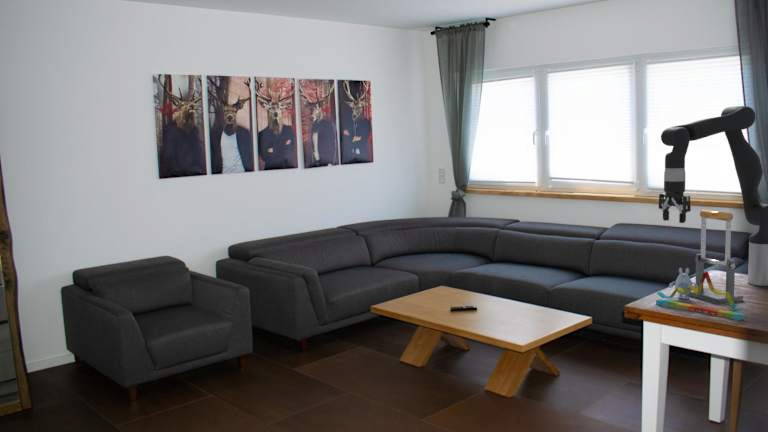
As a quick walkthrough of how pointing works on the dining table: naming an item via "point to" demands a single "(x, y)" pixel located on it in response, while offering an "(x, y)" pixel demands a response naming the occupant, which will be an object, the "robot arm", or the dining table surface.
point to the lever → (704, 215)
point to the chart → (699, 308)
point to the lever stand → (712, 296)
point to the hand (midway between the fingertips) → (673, 221)
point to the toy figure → (683, 283)
